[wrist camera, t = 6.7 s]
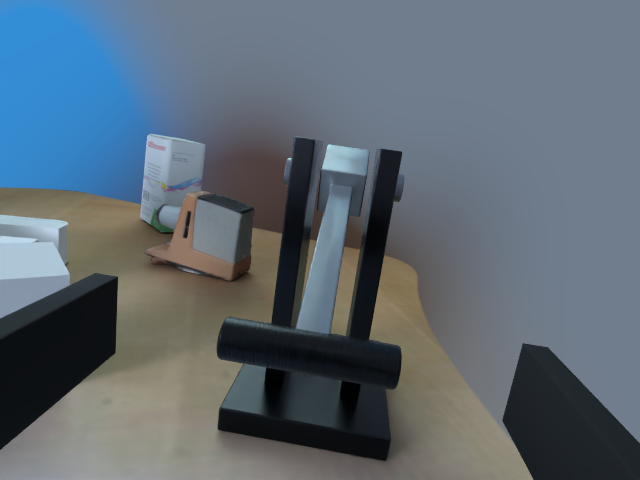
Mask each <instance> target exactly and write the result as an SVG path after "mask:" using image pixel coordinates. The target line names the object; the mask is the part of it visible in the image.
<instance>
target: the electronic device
mask: <svg viewBox="0 0 640 480" xmlns="http://www.w3.org/2000/svg"><path fill="white" fill-rule="evenodd" d="M156 213H157V215H156V216H157V221H158V222H159V224H162V225H164V226H167V227H169V228H170V229H172V230H174V234H173V237H172V240H171V241H170V242H167V243H164V244H161V245H158V246H155V247H152V248H149V249H146V251H145V254H147V255H149V256H151V257H152V258H151V261H152V263H153V264H168V265H175V266H178V267H176V268H178V269H183V271H186V272H191V273H195V274H204V275H209V276H215V277H217V278H220V279H225V280H228V281H232V280H234V279H236V278H237V277H238V276H240V275H242V274H243V273H244V272H246V271H248V270H249V269H250V263H251V254H250V253H251V247H252V245H251V238H252V223H253V216H254V208H253V207H251V206H247V205H246V204H244V203H240V202H238V201H236V200H232V199H230V198H226V197H223V196H219V195H216V194H212V193H209V192H206V191H196V192H191V193H188V194H187V195H186V196H185V199H184V201H183V204H182V207H181V208H180V207H173V206H169V205H168V204H166V205H164V204H163V205H161V207H160V208H159V209H158V210H157V212H156Z"/></svg>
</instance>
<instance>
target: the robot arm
mask: <svg viewBox="0 0 640 480" xmlns="http://www.w3.org/2000/svg"><path fill="white" fill-rule="evenodd" d="M117 290H118V277H116V276H110V275H104V274H98V273H95V274H93V275H91V276H89V277H86V278H84V279H82V280H80V281H78V282H76V283H74V284H72V285H70V286H67V287H65V288H63V289H61V290H59V291H57V292H55V293H53V294H51V295H48V296H46V297H44V298H42V299H40V300H38V301H36V302H34V303H31V304H29V305H27V306H25V307H23V308H21V309H19V310H17V311H15V312H12V313H10V314H8V315H6V316H4V317H2V318H0V450H1V449H2V448H3V447H4V446H5V445H6V444H8V443H9V442H10V441H11V440H12V439H14V438H15V437H16V436H17V435H18V434H20V433H21V432H22V431H23V430H24V429H26V428H27V427H28V426H29V425H30V424H31V423H33V422H34V421H35V420H36V419H37V418H39V417H40V416H41V415H42V414H43V413H45V412H46V411H47V410H48V409H49V408H50V407H52V406H53V405H54V404H55V403H56V402H58V401H59V400H60V399H61V398H62V397H64V396H65V395H66V394H67V393H68V392H70V391H71V390H72V389H73V388H74V387H75V386H77V385H78V384H79V383H80V382H81V381H83V380H84V379H85V378H86V377H87V376H89V375H90V374H91V373H92V372H93V371H94V370H96V369H97V368H98V367H99V366H100V365H102V364H103V363H104V362H105V361H106V360H108V359H109V358H110V357H111V356H112V355H114V354H115V350H116V320H117ZM503 423H504V425H505V427H506V428H507V430H508V432H509V434H510V436H511V438H512V440H513V442H514V443H515V445H516V447H517V449H518V451H519V453H520V455H521V457H522V459H523V460H524V462H525V464H526V466H527V468H528V470H529V472H530V474H531V475H532V477H533V479H534V480H640V443H639V442H638V441H637V440H636V439H635V438H634V437H633V436H632V435H631V434H630V433H629V432H628V431H627V430H626V429H625V427H623V425H622V424H621V423H620V422H619V421H618V420H617V419H616V418H615V417H614V416H613V415H612V414H611V413H610V412H609V411H608V410H607V409H606V408H605V407H604V406H603V405H602V403H601V402H599V400H598V399H597V398H596V397H595V396H594V395H593V394H592V393H591V392H590V391H589V390H588V389H587V388H586V387H585V386H584V385H583V384H582V383H581V382H580V381H579V379H577V377H576V376H575V375H574V374H573V373H572V372H571V371H570V370H569V369H568V368H567V367H566V366H565V365H564V364H563V363H562V362H561V361H560V360H559V359H558V357H557V356H556V355H555V354H554V353H553V352H552V351H551V350H550V349H549V348H548V347H542V346H536V345H530V344H524V343H523V345H522V349H521V353H520V356H519V360H518V364H517V368H516V371H515V375H514V379H513V383H512V386H511V390H510V394H509V398H508V401H507V405H506V409H505V412H504V416H503Z"/></svg>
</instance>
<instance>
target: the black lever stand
mask: <svg viewBox="0 0 640 480" xmlns="http://www.w3.org/2000/svg"><path fill="white" fill-rule="evenodd" d="M322 146H323V141H320V140H315V139H308V138H302V137H294V142H293V151H292V158H289V159H288V160H287V162H286V166H285V172H284V184H285V185H288V191H287V199H286V207H285V215H284V224H283V232H282V240H281V248H280V256H279V265H278V273H277V281H276V289H275V297H274V306H273V314H272V322H271V323H269V324H275V325H281V326H287V327H293V328H296V324H297V320H298V316H299V312H300V307H301V300H302V293H303V286H304V278H305V271H306V264H307V256H308V249H309V242H310V234H311V227H312V219H313V212H314V205H315V198H316V190H317V183H318V176H319V169H320V161H321V154H322ZM401 157H402V152H401V151H393V150H386V149H377V151H376V157H375V163H374V169H373V175H372V181H371V187H370V193H369V199H368V205H367V211H366V217H365V223H364V229H363V235H362V241H361V247H360V253H359V259H358V266H357V272H356V278H355V284H354V290H353V296H352V302H351V308H350V314H349V320H348V326H347V332H346V337H352V338H358V339H364V340H369V336H370V331H371V325H372V319H373V314H374V308H375V303H376V297H377V291H378V286H379V280H380V275H381V269H382V264H383V258H384V252H385V246H386V241H387V235H388V230H389V224H390V218H391V213H392V208H393V202H394V201H395V202H399V201H400V200H401V196H402V192H403V186H404V175H402V174H399V168H400V162H401ZM330 334H332V333H330ZM334 335H337V334H334ZM340 336H343V335H340ZM370 341H373V340H370ZM376 342H379V341H376ZM218 430H222V431H228V432H233V433H239V434H244V435H249V436H255V437H260V438H265V439H271V440H276V441H282V442H287V443H292V444H298V445H303V446H308V447H314V448H319V449H324V450H330V451H335V452H341V453H346V454H351V455H357V456H362V457H367V458H373V459H378V460H384V461H386V460H387V457H388V452H389V447H390V442H391V436H390V427H389V418H388V408H387V399H386V390H385V388H380V387H375V386H369V385H363V384H358V383H352V382H346V381H341V380H335V379H329V378H323V377H318V376H312V375H306V374H301V373H295V372H289V371H284V370H278V369H272V368H267V367H261V366H255V365H250V364H243V366H242V368H241V370H240V371H239V373H238V375H237V377H236V379H235V381H234V383H233V384H232V386H231V388H230V390H229V392H228V394H227V396H226V397H225V399H224V401H223V403H222V405H221V407H220V408H219V419H218Z"/></svg>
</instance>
